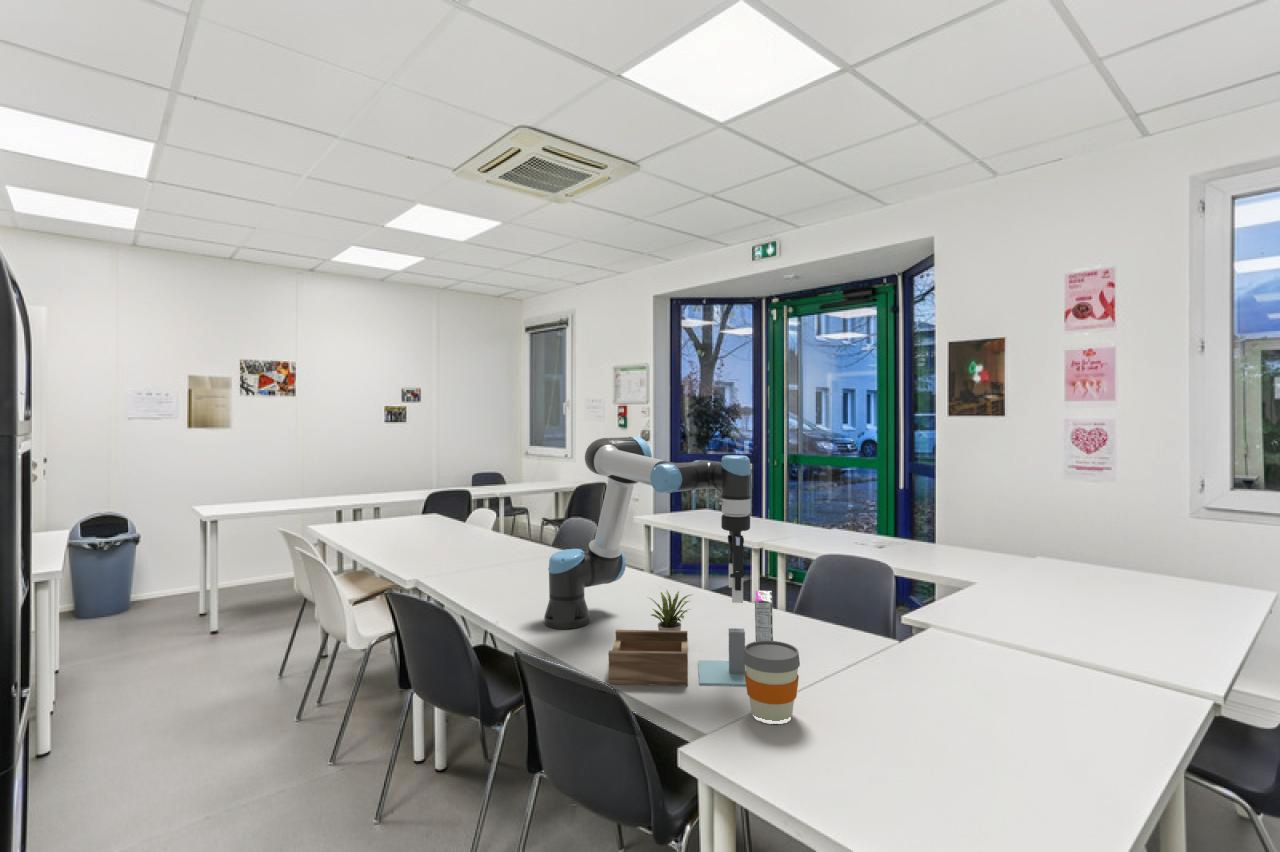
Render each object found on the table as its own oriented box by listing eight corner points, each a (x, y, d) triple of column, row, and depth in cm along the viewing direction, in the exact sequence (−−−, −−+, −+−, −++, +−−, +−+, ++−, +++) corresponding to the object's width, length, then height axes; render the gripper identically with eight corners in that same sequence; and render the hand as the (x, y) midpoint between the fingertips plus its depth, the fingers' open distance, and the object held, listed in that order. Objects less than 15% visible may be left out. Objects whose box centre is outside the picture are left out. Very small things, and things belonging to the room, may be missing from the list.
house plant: (707, 645, 188) (707, 590, 188) (677, 658, 178) (677, 600, 178) (670, 634, 198) (670, 582, 198) (640, 646, 188) (640, 591, 188)
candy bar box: (755, 644, 188) (755, 589, 188) (773, 645, 187) (772, 590, 187) (755, 658, 177) (754, 600, 177) (773, 660, 176) (772, 601, 176)
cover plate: (698, 663, 175) (698, 620, 175) (771, 665, 174) (771, 621, 174) (699, 686, 160) (699, 639, 160) (779, 688, 159) (779, 641, 159)
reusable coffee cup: (789, 734, 135) (789, 664, 135) (734, 720, 142) (734, 653, 141) (807, 711, 146) (807, 646, 145) (755, 698, 152) (755, 636, 152)
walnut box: (616, 659, 178) (616, 629, 178) (687, 660, 177) (687, 630, 176) (608, 684, 161) (608, 652, 161) (687, 686, 159) (687, 653, 159)
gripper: (719, 506, 179) (718, 581, 180) (724, 522, 154) (723, 608, 155) (745, 507, 179) (745, 581, 179) (755, 523, 154) (754, 609, 154)
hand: (735, 594), depth 167 cm, fingers open, 13 cm apart
